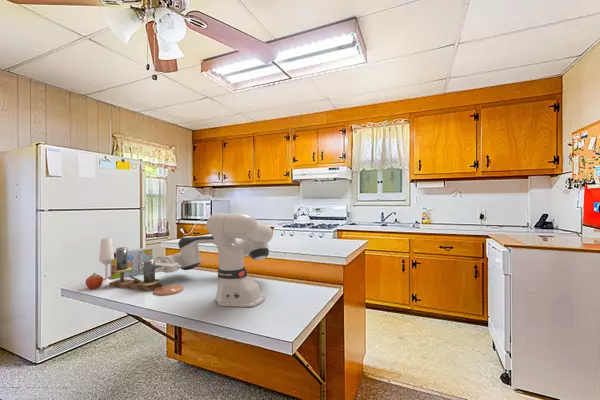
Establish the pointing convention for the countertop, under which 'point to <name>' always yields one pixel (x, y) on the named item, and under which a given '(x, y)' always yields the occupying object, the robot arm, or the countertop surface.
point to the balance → (133, 282)
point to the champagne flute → (106, 256)
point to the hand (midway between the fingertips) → (148, 270)
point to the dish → (168, 289)
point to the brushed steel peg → (149, 270)
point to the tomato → (94, 281)
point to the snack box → (133, 261)
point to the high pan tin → (122, 258)
